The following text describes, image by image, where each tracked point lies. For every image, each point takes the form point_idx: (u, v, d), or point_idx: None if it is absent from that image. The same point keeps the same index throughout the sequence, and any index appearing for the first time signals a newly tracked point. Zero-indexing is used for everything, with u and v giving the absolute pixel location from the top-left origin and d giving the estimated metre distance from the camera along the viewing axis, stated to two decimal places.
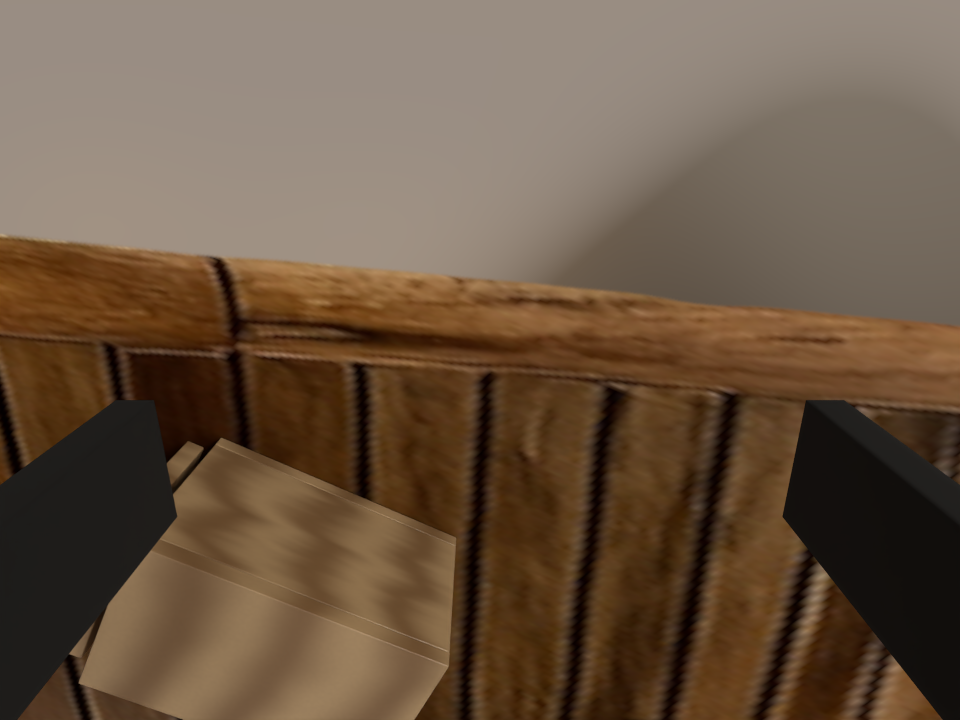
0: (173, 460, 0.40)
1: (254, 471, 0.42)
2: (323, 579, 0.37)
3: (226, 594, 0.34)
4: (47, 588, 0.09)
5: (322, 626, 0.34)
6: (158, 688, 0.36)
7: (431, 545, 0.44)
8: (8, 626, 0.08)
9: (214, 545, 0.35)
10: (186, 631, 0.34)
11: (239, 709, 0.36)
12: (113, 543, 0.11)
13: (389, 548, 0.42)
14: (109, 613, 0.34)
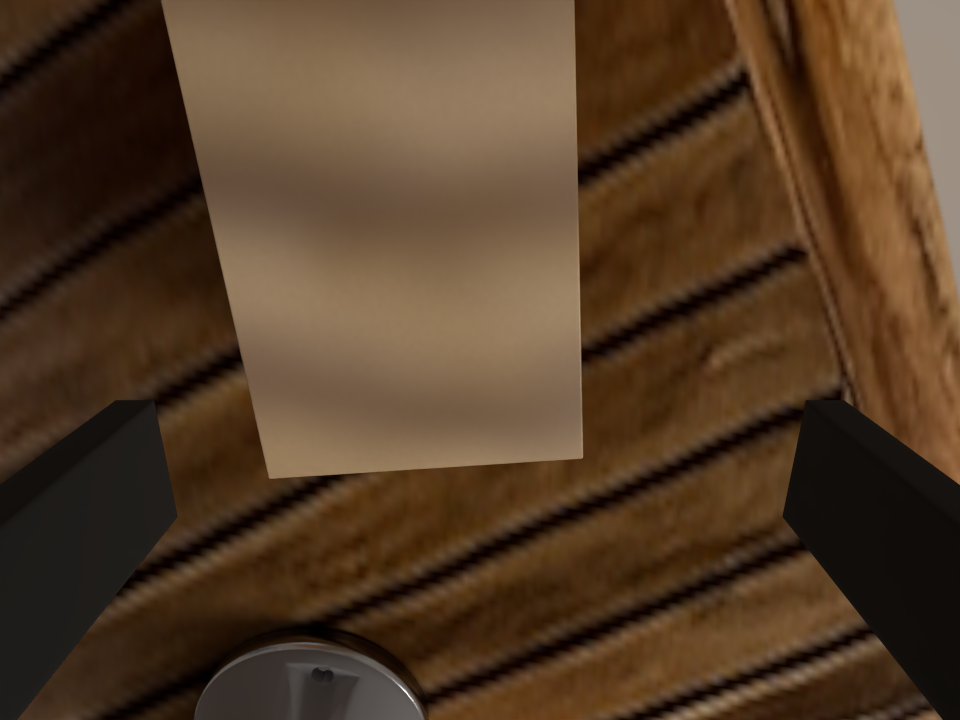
0: None
1: None
2: None
3: (543, 37, 0.17)
4: (47, 588, 0.09)
5: (560, 240, 0.19)
6: (228, 9, 0.16)
7: None
8: (8, 626, 0.08)
9: None
10: (410, 0, 0.16)
11: (283, 191, 0.18)
12: (113, 543, 0.11)
13: None
14: None
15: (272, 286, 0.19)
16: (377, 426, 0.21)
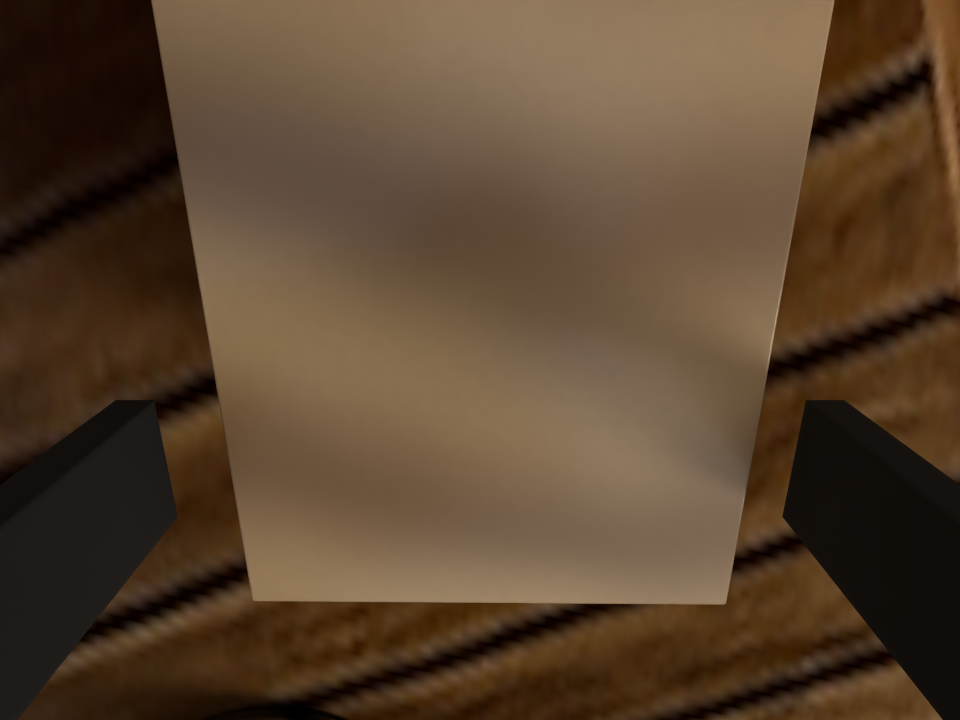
0: None
1: None
2: None
3: None
4: (47, 588, 0.09)
5: (753, 284, 0.11)
6: None
7: None
8: (8, 626, 0.08)
9: None
10: None
11: (311, 171, 0.11)
12: (113, 543, 0.11)
13: None
14: None
15: (280, 322, 0.12)
16: (424, 540, 0.14)
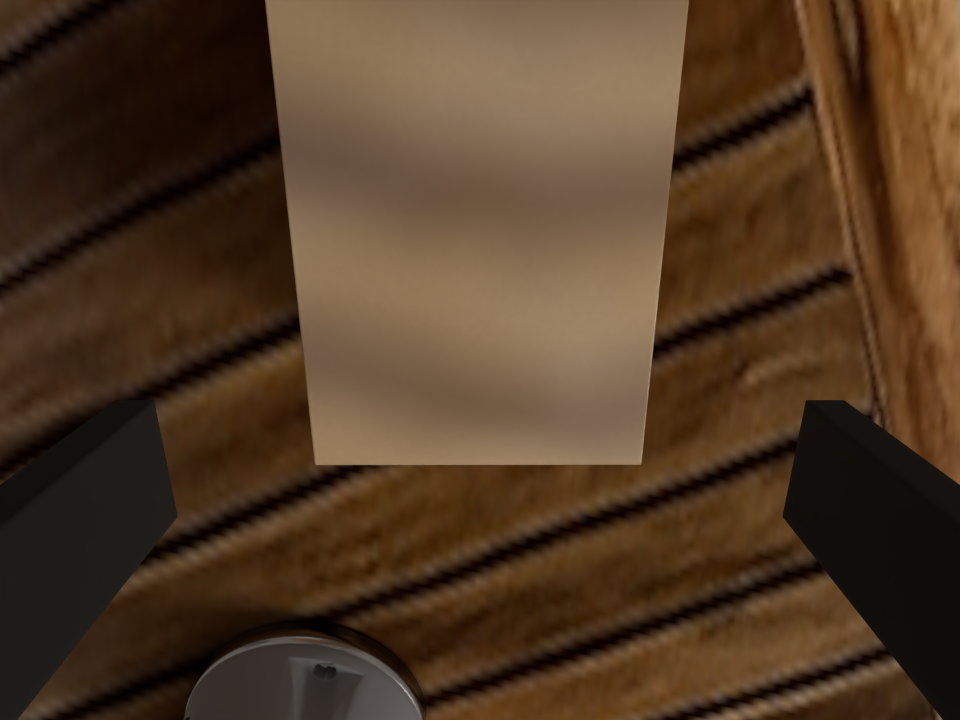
0: None
1: None
2: None
3: (654, 27, 0.16)
4: (47, 588, 0.09)
5: (645, 238, 0.18)
6: None
7: None
8: (8, 626, 0.08)
9: None
10: None
11: (365, 166, 0.17)
12: (113, 543, 0.11)
13: None
14: None
15: (342, 264, 0.18)
16: (434, 417, 0.20)
